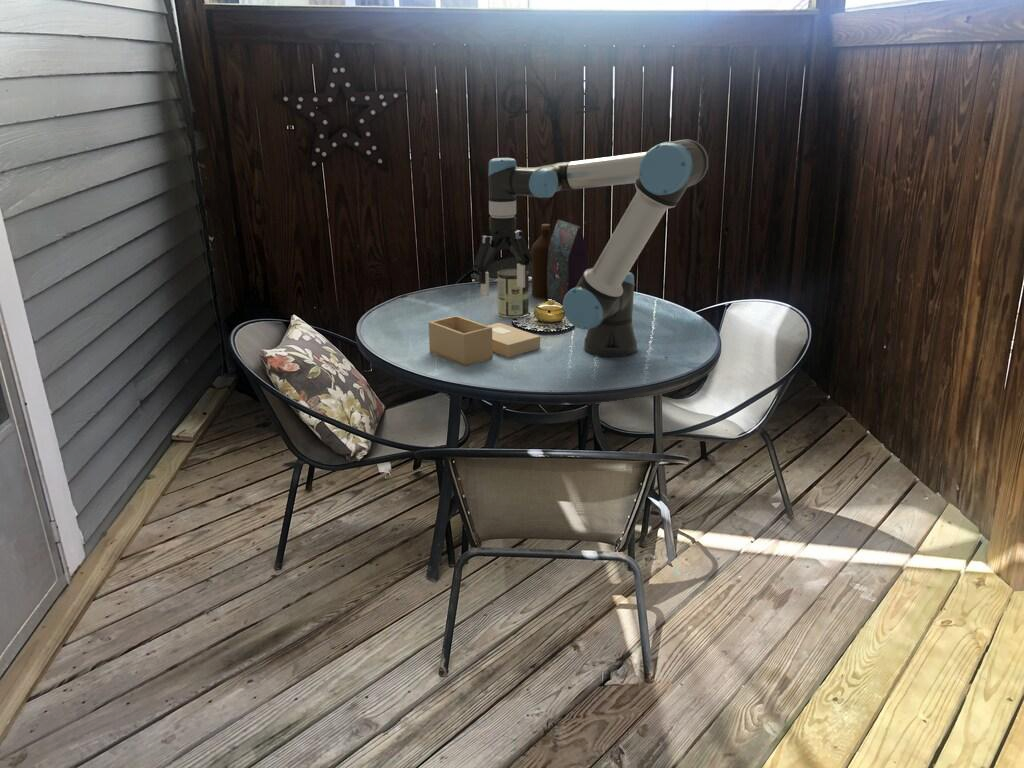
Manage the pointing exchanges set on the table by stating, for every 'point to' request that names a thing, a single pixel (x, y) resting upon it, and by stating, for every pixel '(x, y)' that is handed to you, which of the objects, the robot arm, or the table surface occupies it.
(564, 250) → the decorative box
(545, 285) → the olive oil
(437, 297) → the table surface
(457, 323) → the kraft box
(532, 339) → the lid
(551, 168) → the robot arm
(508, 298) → the coffee can
